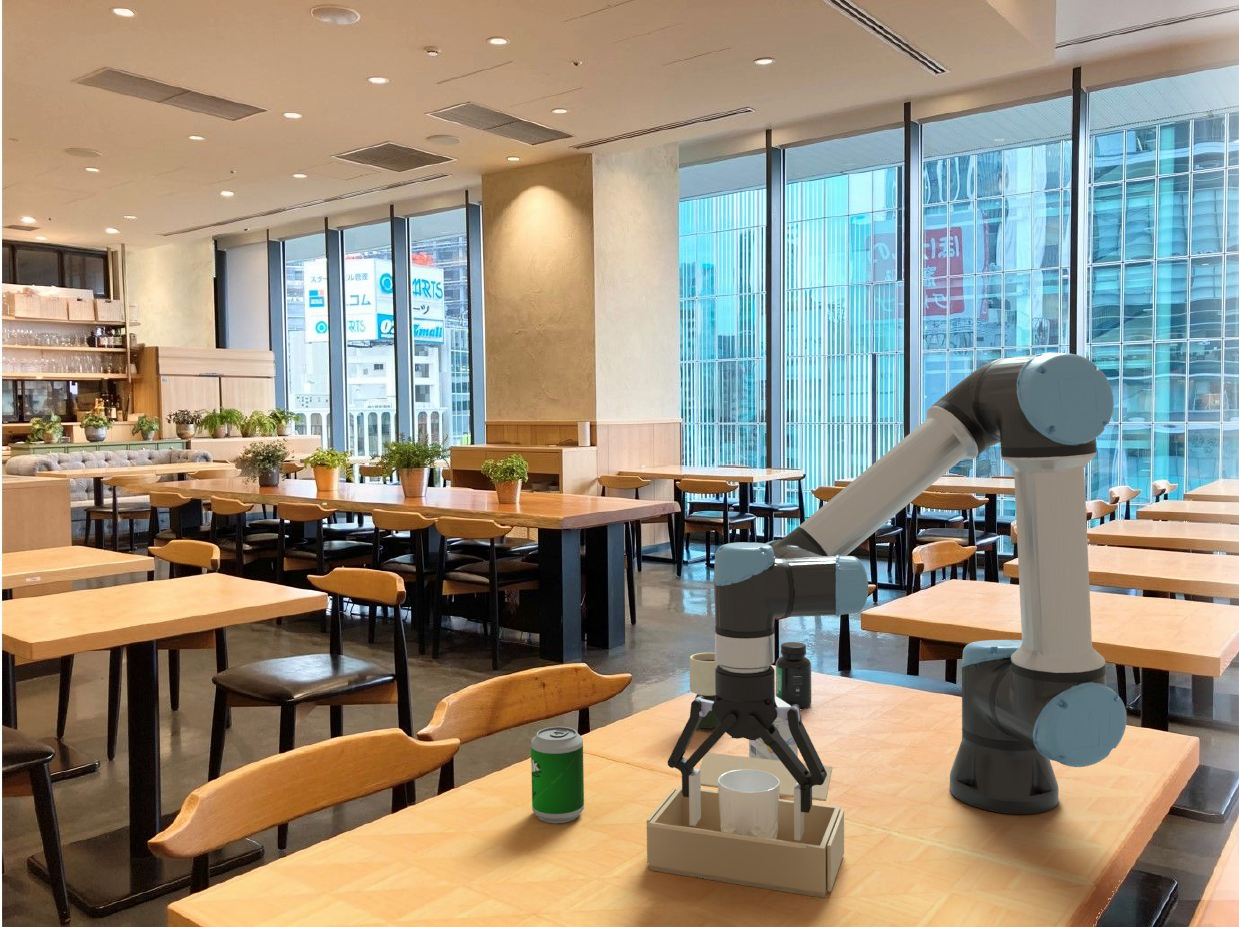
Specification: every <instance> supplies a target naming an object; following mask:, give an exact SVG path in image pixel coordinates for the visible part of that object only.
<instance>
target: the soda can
mask: <svg viewBox="0 0 1239 927" xmlns="http://www.w3.org/2000/svg"><path fill="white" fill-rule="evenodd" d="M530 761H531V762H530V763H531V765H530V766H531V772H530V773H531V809H532V812H533V813H534V814H535V815H536V816H537V817H538V819H539V820H540V821H542V822H544V823H548V824H563V823H564V824H565V823H568V822H573V821H574V820H576V819H577V818H578V817H579V815H580V814H581V813H582V812H583V811H584V809H585V788H584V786H585V783H584V776H585V775H584V774H585V773H584V738H583V736H582V735H580V734H579V733H578V731H577V730H576V729H575V728H572V727H567V726H551V727H545V728H542V729H539V730H538V731H537V732H536V735H535V736H533V737H532V738H531V741H530Z"/></svg>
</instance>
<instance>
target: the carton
mask: <svg viewBox="0 0 1239 927" xmlns="http://www.w3.org/2000/svg"><path fill="white" fill-rule="evenodd" d="M647 823H656V824H665V825H672V826H679V827H686V828H693V829H700V830H708V831H715V832H721V826H720V813H719V793H718V791H717V790H711V789H710V790H708V789H704V788H703V789H702V788H701V818H700V820H699V821H698V822H697V824H696V825H695V826H693V825H690V824H689V797H683V794H682V786H678V787H677V788H672V789H671V790H670V792H668V794H667V795H666V796H665V797H664V799H663V800H662V801H661V802H660V803H659V805H658V806H657V807H655V809H654V811H652V813H651V814H650V815H649V817H647V819H646V824H647ZM722 833H726V832H722ZM729 834H733V833H729ZM777 834H778V836H777V839H771V840H778V841H785V842H792V843H799V844H806V848H796V847H789V846H782V845H775V844H768V843H761V842H754V841H747V840H740V839H733V838H726V837H719V836H712V835H705V834H698V833H691V832H684V831H677V830H670V829H663V828H656V827H649V826H647V825H646V862H647V864H648V869H649V870H648V871H652V872H659V873H666V874H671V875H678V876H684V877H689V878H697V877H698V878H697V879H702V878H704V879H703V880H709V881H716V882H723V883H728V884H733V885H735V884H736V885H741V886H747V887H753V888H759V889H766V890H772V891H776V892H777V891H778V892H784V893H791V894H796V895H801V896H803V895H804V896H809V897H815V898H823V899H826V895H827V892H830V893H831V892H832V890H833V887H834V884H835V880H836V878H837V875H838V872H839V869H840V866H841V863H842V861H843V857H844V854H845V810H844V809H841V806H837V805H836V806H835V805H829V804H820V803H813V802H812V807H811V809H810V811H809V813H805V812H804V833H803V835H802V838H801V840H794V800H789V799H781V798H779V820H778V833H777ZM736 835H740V834H736ZM743 836H747V835H743ZM750 837H754V836H750ZM757 838H762V837H757ZM764 839H769V838H764Z"/></svg>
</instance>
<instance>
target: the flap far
mask: <svg viewBox="0 0 1239 927" xmlns="http://www.w3.org/2000/svg"><path fill="white" fill-rule="evenodd" d="M701 760H702V761H701V763H700V766H699V769H700V784H701V787H708V788H717V789H718V778H719V776H721V775H722V774H724V773H726V772H729V771H734V770H744V769H748V770H759V771H764V772H768V773H770V774H773V775H775V776H776V777H777V778H778V779H779V780H780V793H779V797H780V796H781V797H788V798H789V797H790V798H794V787H795V785H796V783H797V781H796V780H795V779H794V777H793V776H792V775H791V774H790V772H789V771H788V770H787V769H786V767H785V766H784V765H783V763H782V762H781V761H777V760H768V759H760V758H751V757H749V756H740V755H730V754H723V753H714V752H712V753H711V752H707V753H706V754H705V756H704V757H703V758H702V759H701ZM802 763H803V762H802ZM803 765H804V766H805V767H806V768H807V765H806V763H805V762H804V763H803ZM823 766H824V768H825V770H826V772H827V776H826V779H825V781H824V783H823V784H822V785H814V786H812V801H819V802H820V801H821V802H827V799H828V792H829V787H830V782H831V777H832V772H833V767H832V766H829V765H823ZM807 770H808V768H807ZM808 771H809V770H808Z"/></svg>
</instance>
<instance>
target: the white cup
mask: <svg viewBox="0 0 1239 927" xmlns="http://www.w3.org/2000/svg"><path fill="white" fill-rule="evenodd" d="M717 790H718V793H719V813H720V826H721V832H726V833H733V834H740V835H747V836H754V837H762V838H769V839H777V836H778V834H777V833H778V820H779V799H780V796H779V793H780V780H779V779H778V778H777V777H776V776H775V775H773V774H770V773H768V772H764V771H759V770H748V769H744V770H734V771H729V772H726V773H724V774H722V775H721V776H719V778H718V788H717Z"/></svg>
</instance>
